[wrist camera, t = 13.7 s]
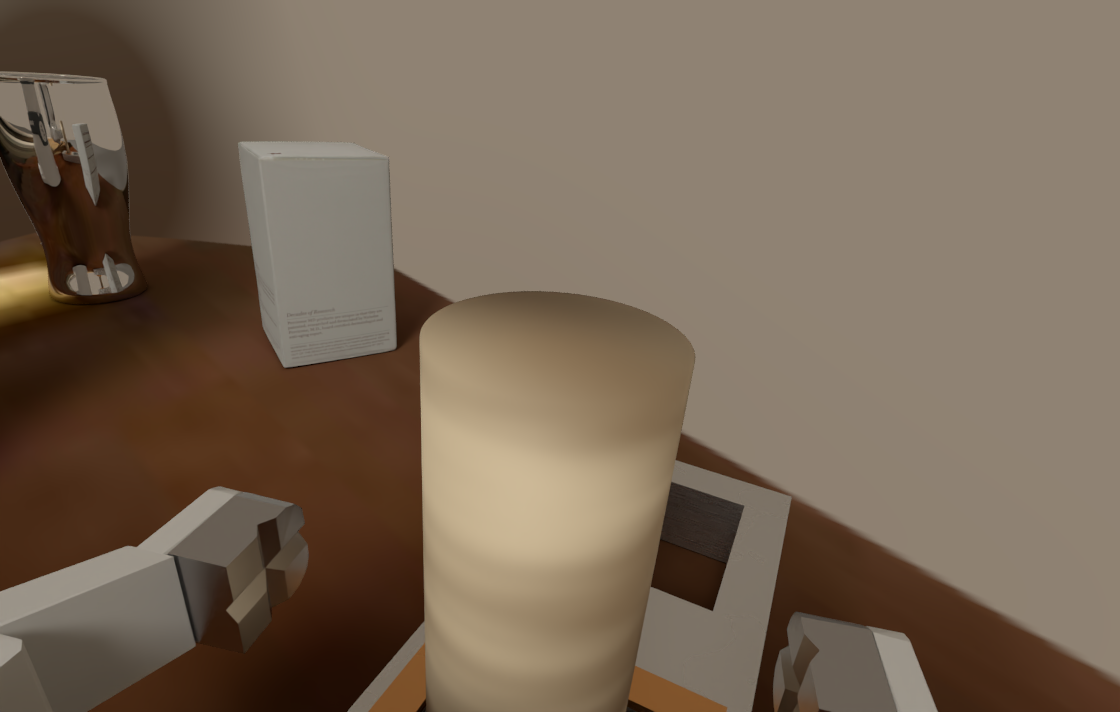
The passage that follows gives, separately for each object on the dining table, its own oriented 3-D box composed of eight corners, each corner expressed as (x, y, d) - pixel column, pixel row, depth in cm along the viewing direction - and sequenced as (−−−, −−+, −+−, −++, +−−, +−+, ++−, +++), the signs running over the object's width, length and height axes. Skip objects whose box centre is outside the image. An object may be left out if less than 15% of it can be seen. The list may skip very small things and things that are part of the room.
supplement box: (400, 351, 40) (392, 155, 35) (281, 371, 36) (253, 155, 31) (367, 314, 46) (356, 140, 41) (261, 328, 42) (234, 138, 37)
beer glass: (132, 271, 50) (86, 75, 44) (171, 292, 47) (127, 81, 40) (27, 289, 45) (-41, 69, 39) (63, 314, 41) (-7, 76, 35)
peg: (511, 1023, 12) (575, 442, 6) (395, 861, 14) (361, 325, 9) (625, 854, 15) (744, 345, 9) (512, 742, 17) (549, 277, 11)
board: (486, 1981, 6) (498, 2085, 5) (-13, 1275, 9) (-93, 1210, 8) (774, 553, 25) (793, 490, 24) (579, 485, 28) (586, 426, 27)
